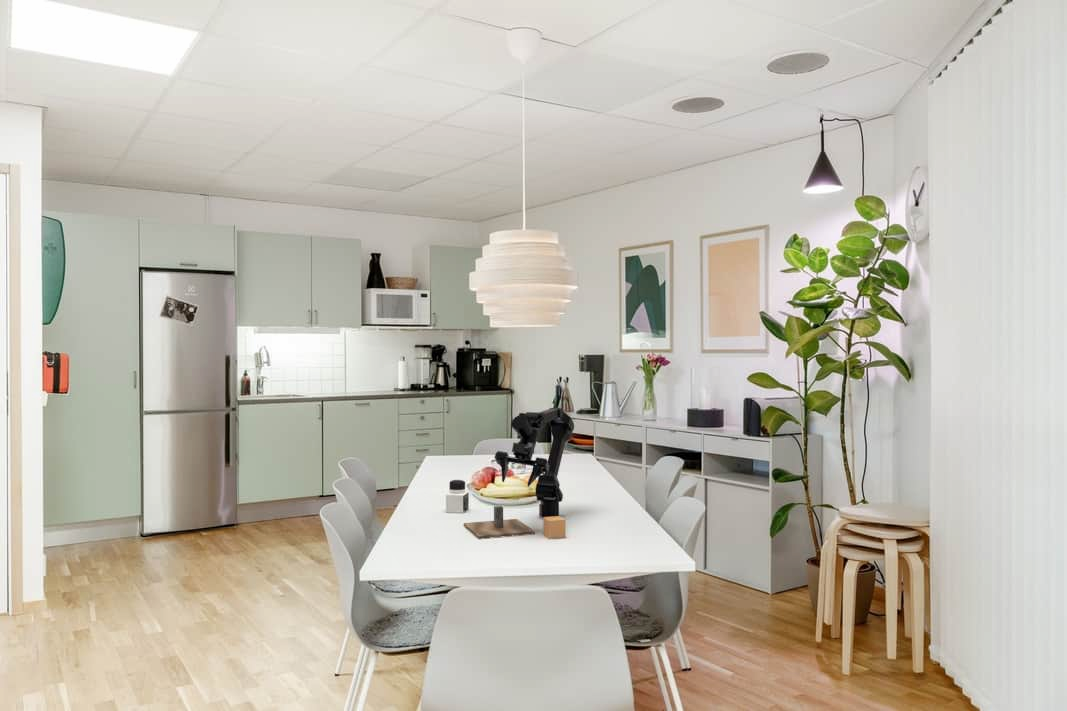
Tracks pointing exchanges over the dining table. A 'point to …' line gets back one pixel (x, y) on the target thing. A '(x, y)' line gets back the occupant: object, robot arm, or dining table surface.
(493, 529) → the wooden base with peg
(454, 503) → the medicine bottle
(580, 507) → the dining table surface
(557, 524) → the peach wooden cube
